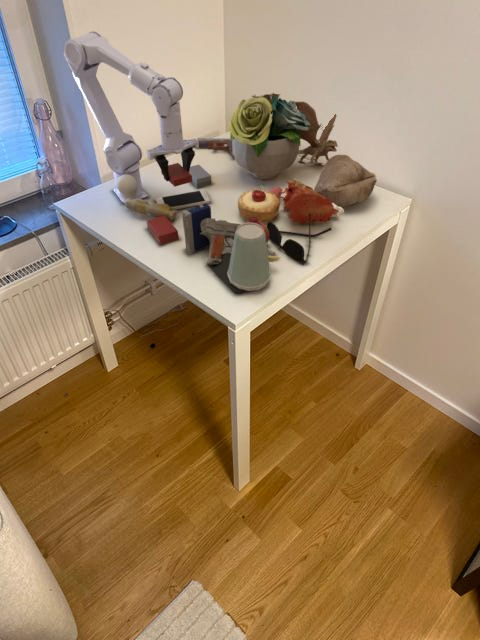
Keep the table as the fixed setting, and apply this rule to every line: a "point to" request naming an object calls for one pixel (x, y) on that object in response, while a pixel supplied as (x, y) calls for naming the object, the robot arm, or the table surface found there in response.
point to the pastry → (258, 205)
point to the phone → (225, 272)
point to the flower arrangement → (266, 134)
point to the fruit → (255, 220)
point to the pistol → (217, 237)
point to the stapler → (338, 210)
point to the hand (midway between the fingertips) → (176, 177)
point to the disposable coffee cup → (249, 258)
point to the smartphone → (184, 199)
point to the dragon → (310, 135)
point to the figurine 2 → (278, 192)
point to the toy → (272, 253)
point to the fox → (273, 258)
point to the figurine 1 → (150, 208)
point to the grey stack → (200, 176)
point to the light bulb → (127, 186)
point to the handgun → (216, 144)
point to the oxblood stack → (162, 230)
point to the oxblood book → (178, 175)
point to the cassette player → (195, 227)
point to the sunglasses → (291, 241)
